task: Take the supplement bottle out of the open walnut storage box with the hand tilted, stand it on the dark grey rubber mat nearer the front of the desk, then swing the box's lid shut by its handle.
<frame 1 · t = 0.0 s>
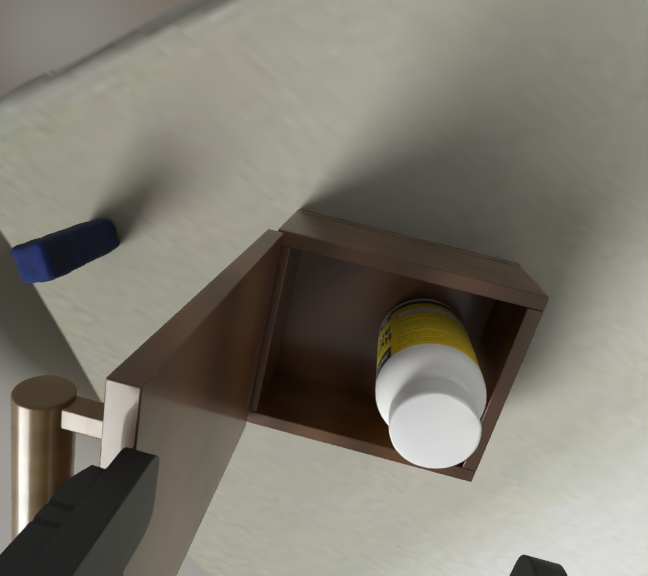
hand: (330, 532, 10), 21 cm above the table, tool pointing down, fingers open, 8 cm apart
storage box: (382, 321, 31), on the table
eraser: (104, 234, 31), on the table
box lid: (161, 401, 19), point 13 cm above the table, hinge at 90.0°, touching gripper
supplement bottle: (420, 335, 30), point 1 cm above the table, touching storage box
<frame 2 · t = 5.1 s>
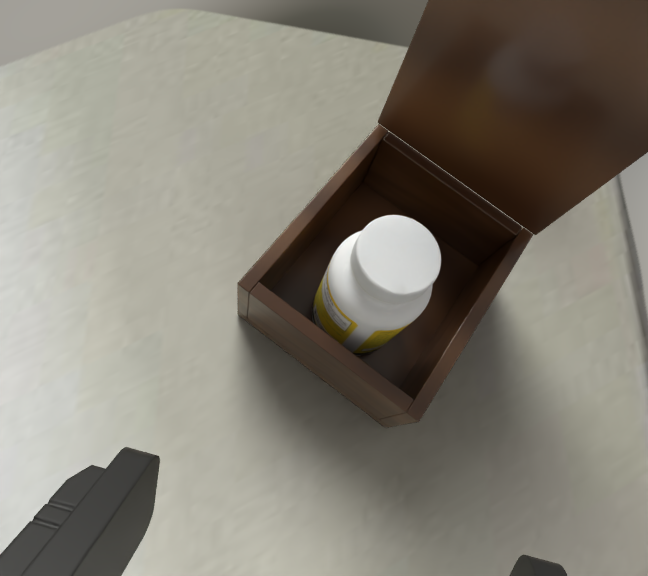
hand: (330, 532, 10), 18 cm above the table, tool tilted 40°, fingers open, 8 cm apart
storage box: (370, 290, 32), on the table
box lid: (542, 65, 23), point 13 cm above the table, hinge at 90.0°
supplement bottle: (351, 315, 31), point 1 cm above the table, touching storage box
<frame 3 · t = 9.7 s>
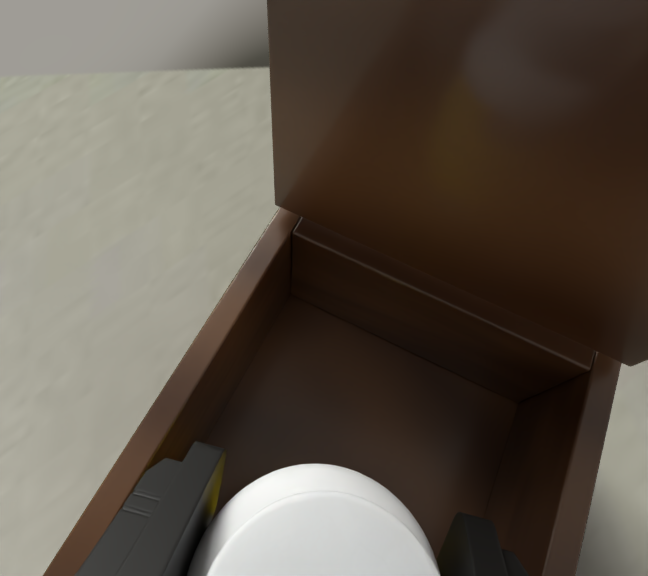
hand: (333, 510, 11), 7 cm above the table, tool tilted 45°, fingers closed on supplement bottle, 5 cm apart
storage box: (334, 493, 18), on the table
box lid: (599, 18, 9), point 13 cm above the table, hinge at 90.0°
supplement bottle: (304, 566, 16), point 1 cm above the table, touching gripper, storage box
when the fingers open (7 cm above the table, at t = 20.7 s): supplement bottle stays where it is, resting on rubber mat.
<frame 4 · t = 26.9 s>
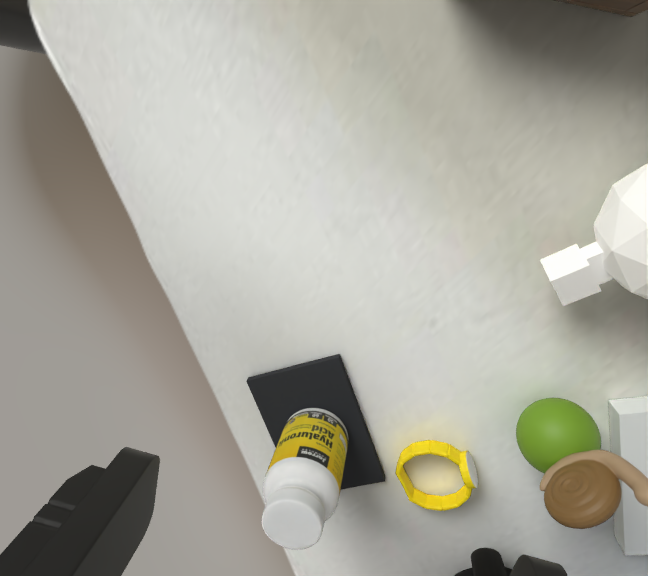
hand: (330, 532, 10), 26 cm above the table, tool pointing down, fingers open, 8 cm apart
rubber mat: (317, 427, 40), on the table
perfume bottle: (621, 219, 32), on the table
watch: (399, 480, 40), point 1 cm above the table
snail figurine: (550, 410, 37), on the table
supplement bottle: (316, 431, 40), resting on rubber mat
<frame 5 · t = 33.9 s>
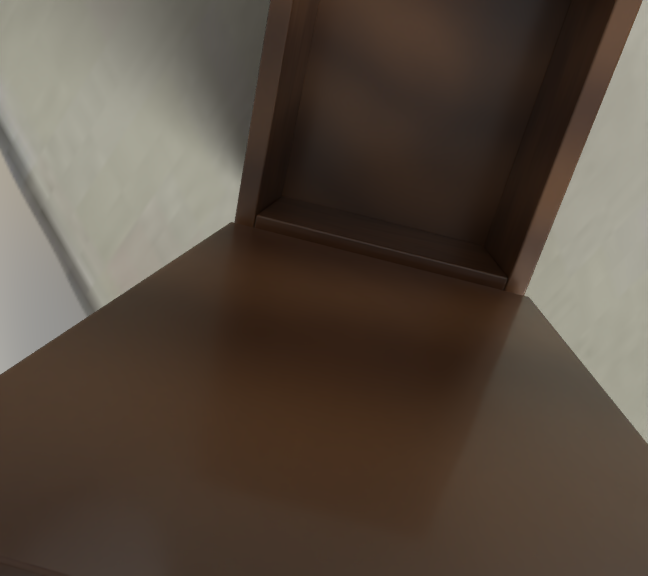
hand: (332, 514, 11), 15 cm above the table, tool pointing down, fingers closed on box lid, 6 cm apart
storage box: (416, 89, 22), on the table
box lid: (350, 419, 12), point 13 cm above the table, hinge at 90.1°, touching gripper
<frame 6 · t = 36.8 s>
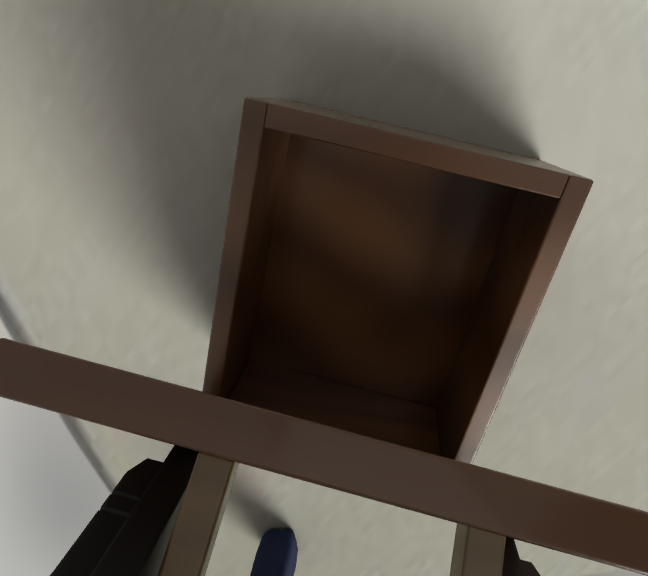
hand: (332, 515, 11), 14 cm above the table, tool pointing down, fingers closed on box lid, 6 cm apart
storage box: (371, 272, 23), on the table
eraser: (282, 537, 31), on the table
box lid: (319, 541, 13), point 13 cm above the table, hinge at 47.2°, touching gripper
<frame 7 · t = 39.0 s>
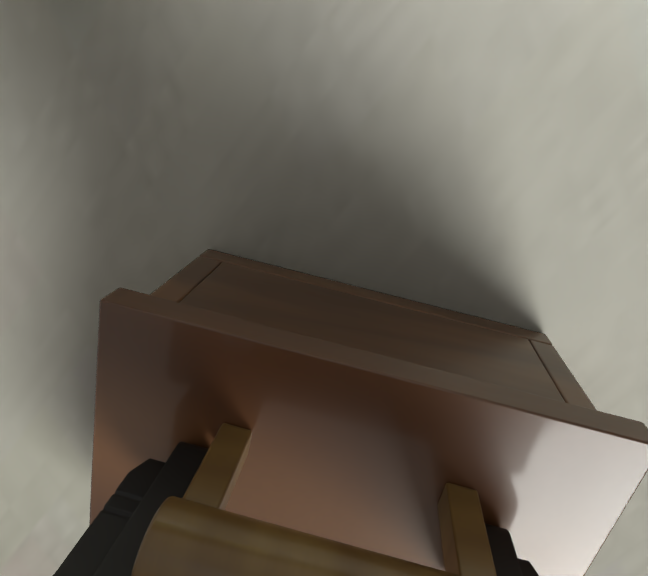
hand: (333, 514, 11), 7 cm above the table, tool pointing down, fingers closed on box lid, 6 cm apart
storage box: (330, 449, 19), on the table
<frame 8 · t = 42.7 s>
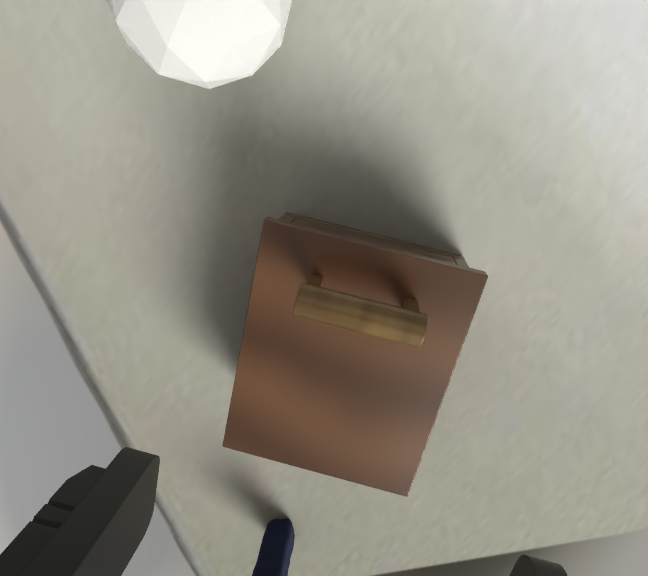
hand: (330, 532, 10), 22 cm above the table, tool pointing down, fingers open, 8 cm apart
storage box: (348, 328, 33), on the table
eraser: (282, 526, 40), on the table
perfume bottle: (253, 2, 27), on the table
box lid: (339, 384, 25), point 8 cm above the table, hinge at -0.2°, touching storage box
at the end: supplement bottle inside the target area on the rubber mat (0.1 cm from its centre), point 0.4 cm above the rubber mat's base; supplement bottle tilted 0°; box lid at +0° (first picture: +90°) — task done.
